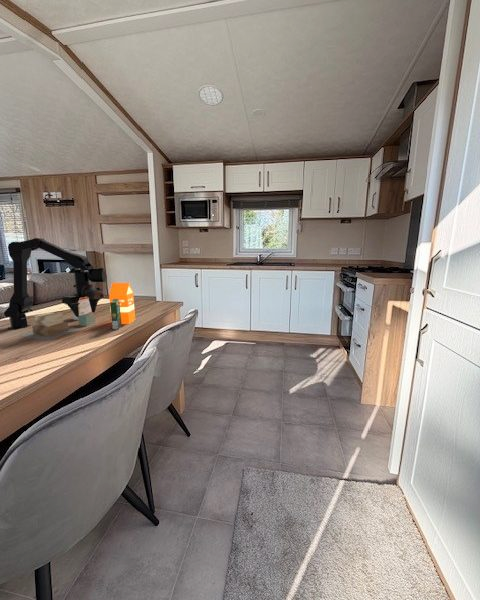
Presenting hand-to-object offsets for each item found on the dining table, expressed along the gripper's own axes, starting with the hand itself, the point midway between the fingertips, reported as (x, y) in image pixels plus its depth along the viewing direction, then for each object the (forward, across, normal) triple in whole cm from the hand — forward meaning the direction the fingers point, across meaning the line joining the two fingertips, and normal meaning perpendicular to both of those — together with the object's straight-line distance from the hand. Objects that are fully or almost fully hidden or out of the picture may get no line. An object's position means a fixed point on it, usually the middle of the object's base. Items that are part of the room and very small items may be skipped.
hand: (85, 314), depth 129 cm
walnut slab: (+5, -15, +4) cm, 16 cm away
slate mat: (+5, -15, +4) cm, 16 cm away
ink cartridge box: (+6, +9, +13) cm, 17 cm away
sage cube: (+5, 0, 0) cm, 5 cm away
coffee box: (+5, +1, -17) cm, 18 cm away
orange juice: (+5, +10, -13) cm, 17 cm away
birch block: (+1, -15, +4) cm, 15 cm away
